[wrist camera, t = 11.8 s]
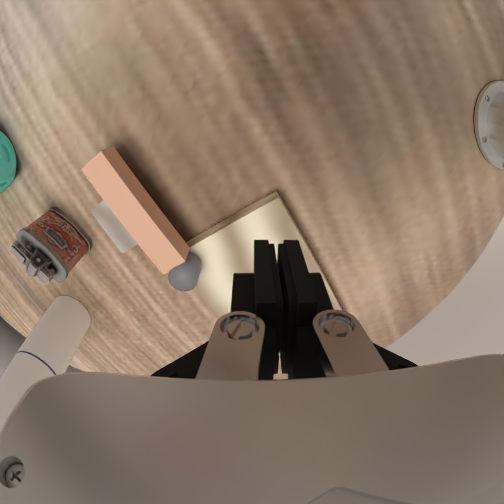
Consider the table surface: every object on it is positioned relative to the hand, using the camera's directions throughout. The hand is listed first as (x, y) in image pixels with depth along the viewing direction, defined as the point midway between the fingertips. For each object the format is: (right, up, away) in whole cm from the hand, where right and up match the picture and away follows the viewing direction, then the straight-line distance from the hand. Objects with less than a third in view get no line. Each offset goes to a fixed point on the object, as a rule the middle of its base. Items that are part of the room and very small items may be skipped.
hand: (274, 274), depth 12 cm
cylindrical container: (-29, -9, +31) cm, 43 cm away
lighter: (-25, +4, +24) cm, 35 cm away
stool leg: (-12, +5, +20) cm, 24 cm away
